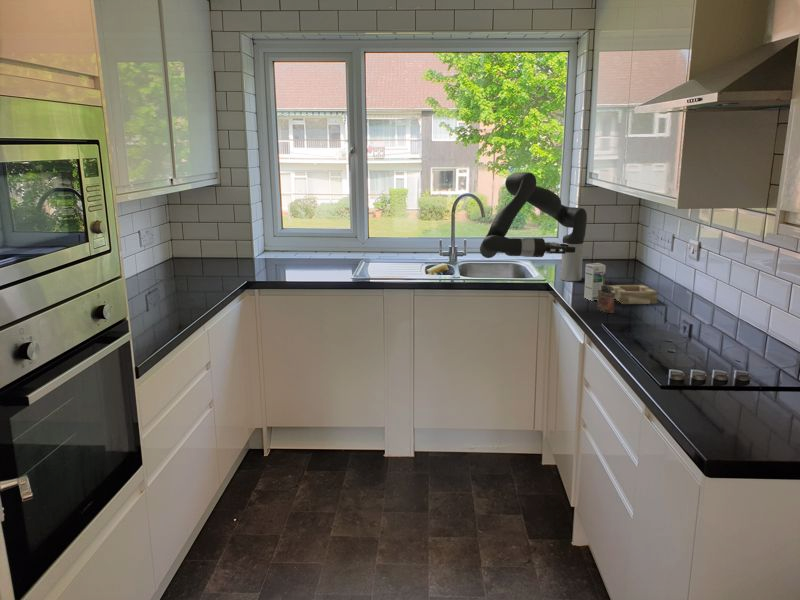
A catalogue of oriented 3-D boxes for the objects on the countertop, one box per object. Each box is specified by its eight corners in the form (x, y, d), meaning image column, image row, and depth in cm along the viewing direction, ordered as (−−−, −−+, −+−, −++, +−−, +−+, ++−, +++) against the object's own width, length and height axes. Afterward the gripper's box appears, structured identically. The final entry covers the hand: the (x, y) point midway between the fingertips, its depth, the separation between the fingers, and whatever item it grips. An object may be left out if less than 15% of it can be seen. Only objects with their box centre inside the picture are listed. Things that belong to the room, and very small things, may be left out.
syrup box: (591, 301, 251) (593, 265, 248) (583, 298, 257) (585, 263, 253) (604, 300, 253) (606, 264, 249) (595, 297, 258) (598, 262, 255)
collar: (608, 295, 260) (609, 285, 259) (642, 295, 260) (643, 284, 259) (621, 304, 246) (622, 293, 245) (656, 303, 246) (657, 292, 245)
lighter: (594, 309, 239) (596, 283, 237) (601, 308, 240) (603, 282, 238) (608, 314, 232) (610, 287, 229) (616, 313, 233) (617, 287, 231)
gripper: (536, 240, 240) (578, 241, 241) (527, 235, 254) (566, 236, 255) (535, 259, 242) (576, 260, 243) (526, 254, 256) (565, 254, 257)
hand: (571, 248), depth 249 cm, fingers open, 8 cm apart
